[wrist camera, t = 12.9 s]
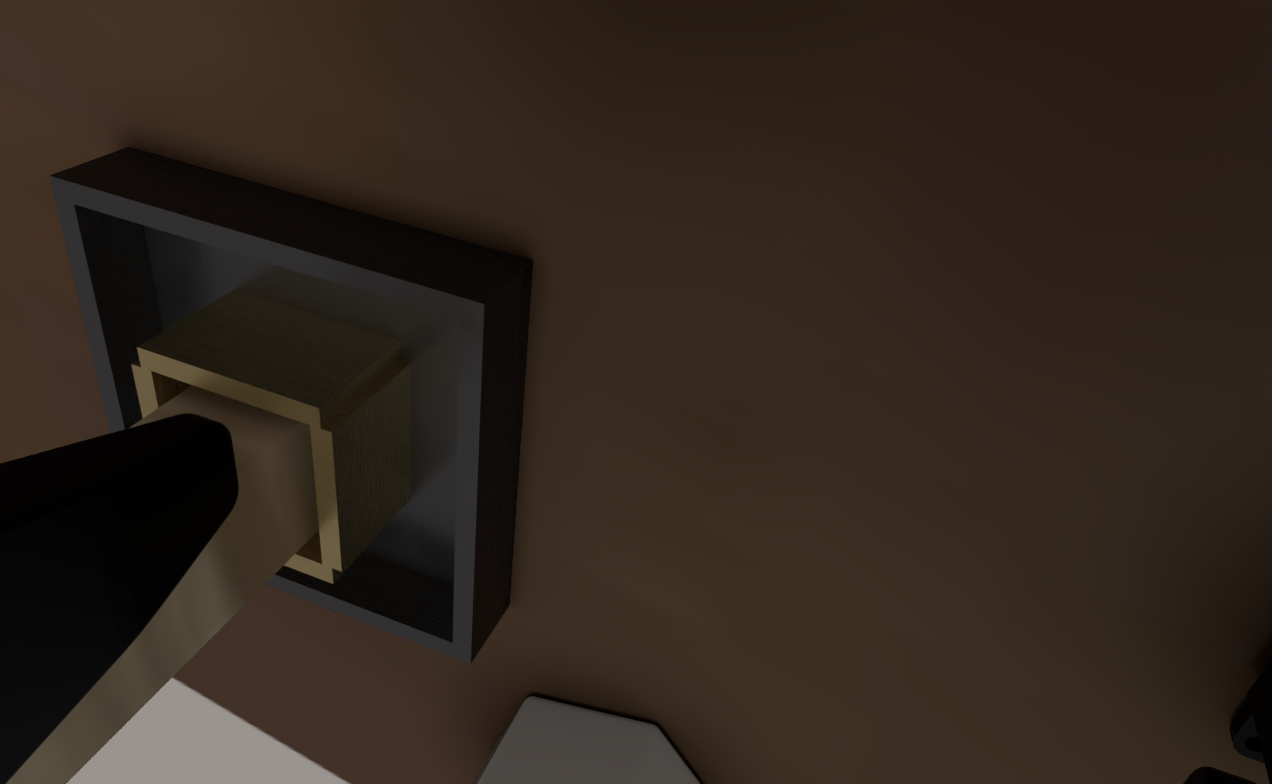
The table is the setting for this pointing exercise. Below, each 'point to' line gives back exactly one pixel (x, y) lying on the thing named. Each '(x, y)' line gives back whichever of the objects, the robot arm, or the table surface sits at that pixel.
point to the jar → (580, 749)
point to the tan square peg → (200, 576)
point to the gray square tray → (324, 372)
